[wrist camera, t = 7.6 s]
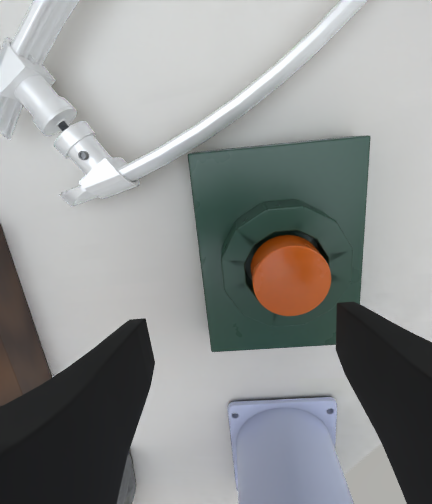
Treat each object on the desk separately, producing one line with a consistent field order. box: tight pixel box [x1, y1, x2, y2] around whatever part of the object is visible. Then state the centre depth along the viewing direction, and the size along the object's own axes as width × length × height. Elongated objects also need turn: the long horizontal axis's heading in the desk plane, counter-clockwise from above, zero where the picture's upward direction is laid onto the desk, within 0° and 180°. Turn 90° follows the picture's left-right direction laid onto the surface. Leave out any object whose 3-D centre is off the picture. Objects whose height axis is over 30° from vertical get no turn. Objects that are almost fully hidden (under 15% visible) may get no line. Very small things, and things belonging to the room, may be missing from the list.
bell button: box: [250, 235, 331, 316], centre depth 15 cm, size 4×4×2 cm
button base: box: [188, 136, 370, 352], centre depth 18 cm, size 12×9×4 cm
